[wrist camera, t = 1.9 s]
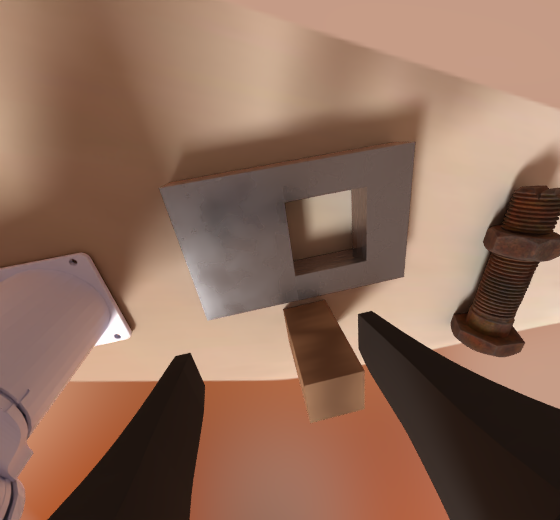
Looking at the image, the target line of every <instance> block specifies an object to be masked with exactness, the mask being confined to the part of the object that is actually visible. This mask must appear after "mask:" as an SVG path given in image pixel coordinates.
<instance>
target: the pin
mask: <svg viewBox="0 0 560 520" xmlns="http://www.w3.org/2000/svg"><path fill="white" fill-rule="evenodd" d="M283 311H284V316H285V322H286V327H287V333H288V338H289V343H290V347H291V350H292V354H293V358H294V362H295V366H296V370H297V374H298V378H299V381H300V385H301V389H302V393H303V397H304V401H305V405H306V409H307V413H308V416H309V420H310V423H313V422H317V421H320V420H324V419H328V418H332V417H336V416H340V415H344V414H347V413H351V412H355V411H359V410H363V409H364V399H365V396H364V395H365V393H364V392H365V388H364V387H365V385H364V384H365V374H364V373H365V372H364V369H363V367H362V365H361V364H360V362H359V360H358V358H357V356H356V355H355V353H354V351H353V349H352V348H351V346H350V344H349V342H348V340H347V339H346V337H345V335H344V333H343V331H342V330H341V328H340V326H339V324H338V322H337V321H336V319H335V317H334V315H333V314H332V312H331V310H330V308H329V306H328V305H327V303H326V301H325V300H322V301H318V302H313V303H309V304H305V305H300V306H296V307H291V308H287V309H283Z"/></svg>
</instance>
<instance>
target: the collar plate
mask: <svg viewBox="0 0 560 520" xmlns="http://www.w3.org/2000/svg"><path fill="white" fill-rule="evenodd" d="M414 152H415V142H392V143H386V144H380V145H375V146H369V147H364V148H358V149H353V150H347V151H341V152H336V153H330V154H325V155H319V156H314V157H308V158H303V159H297V160H291V161H286V162H280V163H275V164H269V165H264V166H258V167H253V168H247V169H241V170H236V171H230V172H225V173H219V174H214V175H208V176H202V177H197V178H191V179H186V180H180V181H175V182H170V183H168V184H166V185H164V186H162V187H160V188H159V190H160V193H161V195H162V198H163V201H164V203H165V206H166V209H167V212H168V214H169V217H170V220H171V222H172V225H173V228H174V231H175V233H176V236H177V239H178V241H179V244H180V247H181V250H182V252H183V255H184V258H185V261H186V263H187V266H188V269H189V271H190V274H191V277H192V280H193V282H194V285H195V288H196V290H197V293H198V296H199V299H200V301H201V304H202V307H203V309H204V312H205V315H206V318H207V320H212V319H217V318H221V317H226V316H230V315H235V314H239V313H244V312H248V311H253V310H257V309H262V308H266V307H271V306H275V305H280V304H284V303H289V302H293V301H298V300H302V299H307V298H311V297H316V296H320V295H325V294H329V293H334V292H338V291H343V290H347V289H352V288H356V287H361V286H365V285H370V284H374V283H379V282H383V281H388V280H392V279H397V278H401V277H404V268H405V257H406V245H407V233H408V222H409V210H410V198H411V187H412V175H413V163H414ZM346 190H351V193H352V238H353V249H349V250H344V251H339V252H334V253H330V254H325V255H320V256H315V257H311V258H306V259H301V260H296V261H293V258H292V251H291V244H290V237H289V230H288V223H287V217H286V210H285V203H284V202H289V201H294V200H299V199H305V198H310V197H315V196H320V195H325V194H331V193H336V192H341V191H346Z"/></svg>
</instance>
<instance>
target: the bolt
mask: <svg viewBox="0 0 560 520" xmlns="http://www.w3.org/2000/svg"><path fill="white" fill-rule="evenodd" d="M514 192H515V193H516V194H513V195H512V196H513V198H511V200H512V201H511V202H509V203H510V204H511V205H510V206H508V208H509V209H508V210H506V211H507V212H508V213H506V214H505V216H506V217H505V218H504V220H505V221H503V222H502V223H503V225H494V226H492V227H490V228H489V229H487V232H486V235H485V238H484V241H483V243H484V246H485V248H486V249H487V250H489V251H491V252H492V253H491V254H490V255H491V256H490V257H489V259H490V260H488V262H489V263H487V266H486V269H485V270H484V271H485V273H483V275H484V276H482V279H481V282H480V285H479V288H478V291H477V294H476V295H475V299H474V301H473V304H472V305H471V306H470V309H469V311H468V313H461V314H454V315H453V318H452V321H451V329H452V332H453V335H454V336H455V337H456V338H457V339H458V340H459V341H461V342H462V343H463V344H464V345H466V346H467V347H469V348H471V349H472V350H475V351H477V352H480V353H483V354H487V355H492V356H497V357H507V356H511V355H514V354H517V353H519V352H521V350H522V348H523V346H524V344H525V342H524V341H523V339H522V338H521V337H520V335H519V334H518V333H517V331H516V330H515V329H514V327H513V326H512V325H513V323H514V321H515V320H514V317H515V315H516V312H517V310H518V307H519V305H520V304H521V302H522V300H523V298H524V295H525V293H526V291H527V288H528V287H529V284H530V281H531V279H532V276H533V274H534V271H535V270H536V267H538V264H539V263H540V262H542V261H549V260H552V259H554V258H556V257H559V256H560V235H559V234H557V233H555V232H553V231H554V230H553V229H554V228H555V226H554V225H556V224H557V220H559V217H557V216H560V188H553V189H549V188H548V187H547V186H525V187H520V188H519V189H518V190H515V191H514Z"/></svg>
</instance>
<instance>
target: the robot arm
mask: <svg viewBox="0 0 560 520" xmlns="http://www.w3.org/2000/svg"><path fill="white" fill-rule="evenodd" d="M72 259H74V260H76V261H77V263H74V262H73V261H72ZM117 334H120V335H117ZM131 334H132V331H131V329H130V327H129V325H128V324H127V322H126V320H125V318H124V316H123V315H122V313H121V311H120V309H119V308H118V306H117V304H116V302H115V300H114V299H113V297H112V295H111V293H110V292H109V290H108V288H107V286H106V284H105V283H104V281H103V279H102V277H101V275H100V274H99V272H98V270H97V268H96V267H95V265H94V263H93V261H92V259H91V258H90V256H89V255H87V254H86V253H75V254H70V255H65V256H60V257H55V258H50V259H44V260H39V261H34V262H29V263H24V264H19V265H14V266H9V267H3V268H0V520H20V518H21V515H22V513H23V508H24V503H25V489H24V487H23V484H22V483H21V481H20V480H18V479H17V477H18V476H19V474H20V473H21V471H22V470H23V468H24V467H25V465H26V463H27V462H28V461H29V459H30V457H31V456H32V454H33V451H32V450H31V449H30V448H29V447H28V445H27V439H28V438H29V436H30V435H31V434H32V432H33V430H34V429H35V428H36V427H37V425H38V424H39V422H40V421H41V420H42V418H43V417H44V415H45V414H46V412H47V411H48V410H49V408H50V407H51V405H52V404H53V403H54V401H55V400H56V399H57V397H58V395H60V393H61V392H62V390H63V389H64V388H65V386H66V385H67V383H68V382H69V381H70V379H71V378H72V376H73V375H74V374H75V372H76V371H77V369H78V368H79V367H80V365H81V364H82V362H83V361H84V360H85V358H86V357H87V355H88V354H89V353H90V351H91V350H92V349H93V347H94V346H98V345H102V344H107V343H111V342H116V341H120V340H125V339H128V338H129V337H130V336H131ZM358 342H359V351H360V353H361V355H362V357H363V359H364V361H365V364H366V366H367V367H368V370H369V371H370V373H371V375H372V377H373V378H374V380H375V382H376V383H377V385H378V386H379V388H380V389H381V391H382V393H383V394H384V396H385V398H386V399H387V401H388V403H389V404H390V406H391V407H392V408H393V411H394V412H395V414H396V415H397V417H398V419H399V420H400V422H401V423H402V425H403V427H404V428H405V430H406V432H407V434H408V436H409V438H410V439H411V441H412V443H413V445H414V447H415V449H416V451H417V453H418V455H419V457H420V459H421V461H422V463H423V465H424V466H425V469H426V471H427V473H428V475H429V477H430V479H431V481H432V483H433V485H434V487H435V489H436V491H437V493H438V495H439V497H440V499H441V502H442V504H443V505H444V508H445V510H446V512H447V514H448V516H449V519H450V520H560V409H558V408H555V407H553V406H550V405H547V404H545V403H542V402H540V401H537V400H535V399H532V398H530V397H527V396H525V395H523V394H520V393H518V392H516V391H514V390H511V389H509V388H507V387H504V386H502V385H500V384H497V383H495V382H493V381H491V380H489V379H487V378H484V377H482V376H480V375H478V374H476V373H474V372H472V371H470V370H468V369H466V368H464V367H462V366H460V365H458V364H456V363H454V362H453V361H451V360H449V359H447V358H445V357H444V356H442V355H440V354H438V353H437V352H435V351H433V350H431V349H430V348H428V347H426V346H425V345H423V344H421V343H420V342H418V341H417V340H415V339H413V338H412V337H410V336H409V335H407V334H405V333H404V332H402V331H401V330H399V329H398V328H396V327H395V326H393V325H392V324H390V323H389V322H387V321H386V320H384V319H383V318H381V317H380V316H378V315H377V314H375V313H374V312H372V311H369V312H365V313H361V314H358ZM204 394H205V385H204V382H203V380H202V378H201V376H200V373H199V371H198V369H197V367H196V364H195V362H194V360H193V358H192V355H191V353H187V354H183V355H179V356H175V358H174V359H173V360H172V362H171V363H170V365H169V366H168V368H167V369H166V371H165V372H164V374H163V375H162V377H161V378H160V380H159V381H158V383H157V384H156V386H155V387H154V389H153V390H152V392H151V393H150V395H149V396H148V398H147V399H146V400H145V402H144V403H143V405H142V406H141V408H140V409H139V410H138V412H137V413H136V415H135V416H134V417H133V419H132V420H131V422H130V423H129V424H128V425H127V427H126V428H125V430H124V431H123V432H122V434H121V435H120V436H119V438H118V439H117V440H116V442H115V443H114V444H113V445H112V447H111V448H110V449H109V451H108V452H107V453H106V454H105V455H104V456H103V458H102V459H101V460H100V461H99V463H98V464H97V465H96V466H95V467H94V468H93V470H92V471H91V472H90V473H89V474H88V476H87V477H86V478H85V479H84V480H83V481H82V482H81V484H80V485H79V486H78V487H77V488H76V489H75V490H74V491H73V492H72V494H71V495H70V496H69V497H68V498H67V499H66V500H65V501H64V502H63V503H62V504H61V505H60V507H59V508H58V509H57V510H56V511H55V512H54V513H53V514H52V515H51V516H50V518H49V519H48V520H189V518H190V505H191V493H192V486H193V477H194V471H195V465H196V459H197V452H198V447H199V440H200V434H201V427H202V421H203V414H204V397H205V395H204Z"/></svg>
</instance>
